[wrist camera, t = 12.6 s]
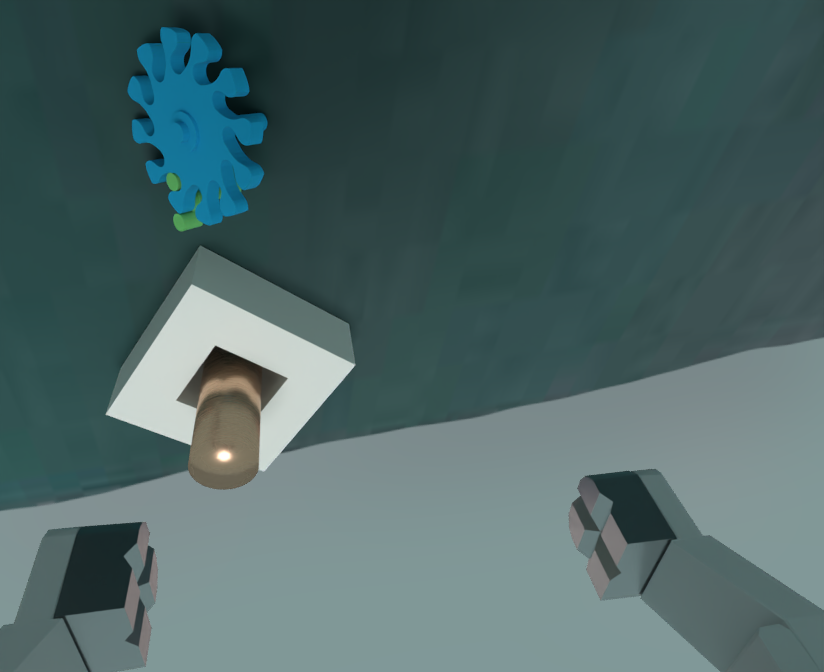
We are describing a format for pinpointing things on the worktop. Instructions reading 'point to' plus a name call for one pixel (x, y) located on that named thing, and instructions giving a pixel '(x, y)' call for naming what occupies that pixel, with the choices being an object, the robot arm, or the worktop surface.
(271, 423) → the fitting block
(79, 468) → the worktop surface
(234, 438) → the wooden peg
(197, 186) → the gear
